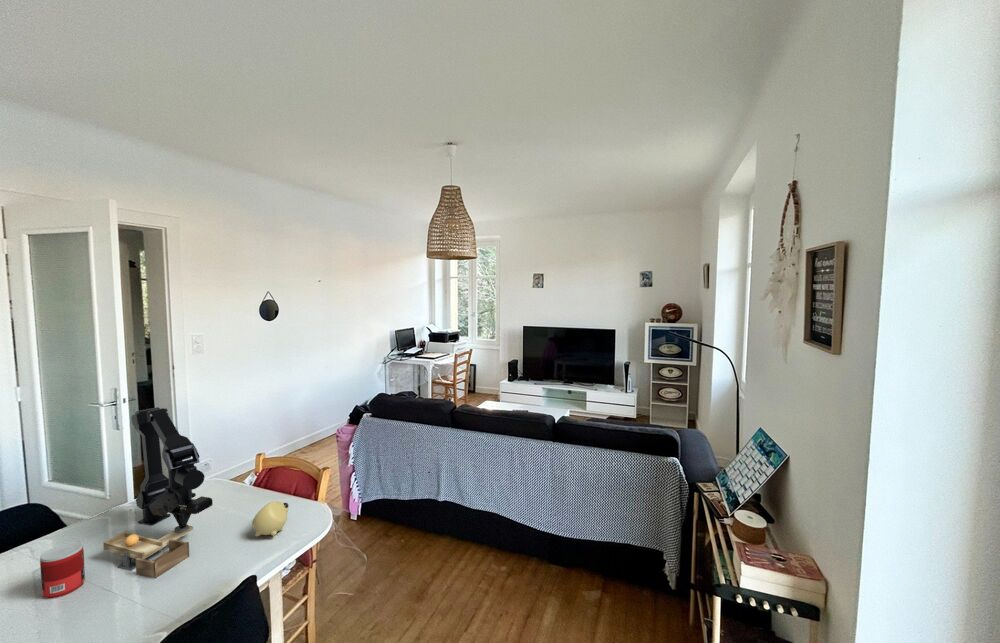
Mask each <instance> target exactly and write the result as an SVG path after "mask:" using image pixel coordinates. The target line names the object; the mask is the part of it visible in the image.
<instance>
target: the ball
mask: <svg viewBox="0 0 1000 643" xmlns="http://www.w3.org/2000/svg"><path fill="white" fill-rule="evenodd" d="M132 534H133V535H130V536H128V537H127V538H126V539H125V545H126V546H133V545H135V544H136V543H137V542H138V540H139V537H138V536H137V535H138V534H136V533H132ZM135 534H136V535H135Z"/></svg>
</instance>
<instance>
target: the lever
mask: <svg viewBox="0 0 1000 643" xmlns="http://www.w3.org/2000/svg"><path fill="white" fill-rule="evenodd" d="M193 530H194V525H192V526H191V525H189V524H188V523H187V524H186V526H185V527H184V528H183V529H181V528H180V527H179V525H177V526H176V527H174V529H173V530H172V531H171V532H169V533H167V534H165V535H164V536H162V537H160V538H159V539H155V538H152V539H151V537H147V536H143V535H140V534H136V533H133V532H129V531H127V530H125V531H122V532H121V533H119V534H116V535H114V536H113V537H110V538H109V539H107V540H105V541H103V551H106V552H110V553H112V554H113V553H114V554H118V555H121V556H123V554H124V553H129V557H131V558H134V559H137V558H140V559H145V558H147V557H149V556H150V555H152V554H154V553H155V552H157V551H161V550H162V549H164V547H167V545H168V546H169V540H170V539H174V540H179V538H181V537H183V536H185V535H187V534H189V533H190V532H192V531H193ZM133 534H135V535H137V536H138V537H139V540H138V542H137V543H136V544H135V545H133V546H126V545H125V539H126V538H127V537H128V536H130V535H133Z"/></svg>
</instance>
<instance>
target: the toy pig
mask: <svg viewBox="0 0 1000 643" xmlns="http://www.w3.org/2000/svg"><path fill="white" fill-rule="evenodd" d="M288 511H289V503H288V502H283V501H279V500H278V501H270V502H268V503H267V504H266V505H264V506H263V507H262V508H261V509H260V510H259V511H258V512H257V513H256V515H255V516H254V518H253V520H252V522H251V523H252V527H253V530H254V531H255V536H256V537H259V536H261V535H264V536H267V535H268V536H269V535H271V536H276V535H277V532H282V531H283V529H284V526H285V524H286V522H287V520H288Z"/></svg>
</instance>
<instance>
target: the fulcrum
mask: <svg viewBox="0 0 1000 643" xmlns="http://www.w3.org/2000/svg"><path fill="white" fill-rule="evenodd" d="M150 538H151V537H150ZM151 539H153V538H151ZM161 552H162V551H161V550H159V551H157V552H155V553H154V554H152V555H150V556H149V557H147V558H145V560H150V561H151V559H154V558H155V557H156V556H158V555H161ZM122 561H123V562H122V563H120V564H119V565H117V569H120V570H121V569H122V570H127V571H129V572H130V571H133V570H136V559H134V558H131V557H129V553H124V554H123V555H122Z"/></svg>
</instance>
